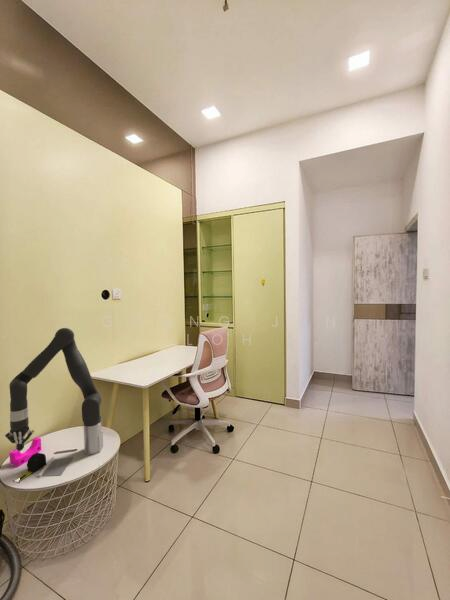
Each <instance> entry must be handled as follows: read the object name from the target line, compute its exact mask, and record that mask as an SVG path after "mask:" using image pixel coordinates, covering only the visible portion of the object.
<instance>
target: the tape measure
mask: <svg viewBox="0 0 450 600" xmlns="http://www.w3.org/2000/svg"><path fill="white" fill-rule="evenodd" d="M46 465H47V457H46V454H45V453H40V452H38V453H35V454H33V455H32V456H31V457H30V458H29V460H28V462H26V467H27V470H26V472H24V473H23V474H22V475H20V476H19V477H17V478H16V479H18V478H20V481H19V482H21V481H22V480H23V479H24V480H25V478H26V477H29V475H31V474H33V475H34V474H35V473H37V472H38V471H40V470H41V469H43V468H44V467H45V466H46ZM22 478H23V479H22ZM14 480H15V479H14ZM14 480H12V482H14Z"/></svg>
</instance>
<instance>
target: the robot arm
mask: <svg viewBox="0 0 450 600" xmlns="http://www.w3.org/2000/svg"><path fill="white" fill-rule="evenodd" d="M74 333H75V332H74V331H73V330H72V329H70V328H69V327H61V328H60V329H58V330H57V331H55V333H54V336H53V339H51V341H50V342H49V343H48V344H47V346H46V347H45V348H44V350H42V351H41V352H40V353H39V354H37V356H35V357H34V358H33V359H32V360H31V361H30V363H29V364H28V365H27V366H26V367H25V368H24V369H23V370H21V372H20V373H18V374H17V375H16V376H15V377H14V378H12V380H10V382H9V387H8V388H9V393H10V403H9V406H10V407H9V410H10V411H9V428H10V430H9V431H8V432H7V433H6V434H5V435H4V436H5V438H7V440H8V441H9V442H10V443H11V444H15V447H16V449H15V450H18V451H20V452H22V451H23V449H24V448H25V443H26V442H27V441H28V440H29V439H30V438H31V436H32V435H33V434H34V433H35V430H30V426H29V409H28V398H27V397H28V384H29V383H30V382H31V381H32V380H33V379H35V378H36V377H38V375H40V373H41V372H42V371H44V369H45V368H46V367H47V366H48V365H49V363H50V362H51V361H52V360H54V357H55V356H56V355H57V354H59V353H60V352H61V351H62V353H63V356H64V360H65V363H66V366H67V370H68V373H69V375H70V377H71V379H72V381H73V382H74V383H75V385H76V386H78V387H79V389H80V390H81V392H82V393H81V394H82V396H83V402H82V403H81V418H82V419H81V420H82V422H83V442H84V443H83V444H84V445H83V447H84V450H83V451H84V454H85V455H88V456H91V455H95V454H99V453H101V452H102V450H103V448H104V433H103V431H102V416H101V413H100V409H101V408H100V406H101V404H102V397H101V395H100V393H99V391H98V389H97V388H96V386H95V384H94V380H93V378H92V376H91V373H90V370H89V368H88V365H87V363H86V361H85V359H84V357H83V356H82V354H81V352H80V350H79V348H78V347H77V344H76V343H77V342H76V341H75V334H74Z"/></svg>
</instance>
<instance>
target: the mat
mask: <svg viewBox="0 0 450 600" xmlns="http://www.w3.org/2000/svg"><path fill="white" fill-rule="evenodd" d="M72 459H73V456H72V457H64V458H62V457H61V458H55V456H52V457H50V459H49V460H48V462H46V466H44V467H43V468H42V470H41V471H40V472H39V473H38V475H37V476H38V478H41V477H42V478H44V477H45V478H46V477H54V476H55V477H58V476H62V475H63V474H64V472H65V470H66V469H67V467H68V466H69V464H70V463H71V461H72Z"/></svg>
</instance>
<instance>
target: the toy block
mask: <svg viewBox="0 0 450 600" xmlns="http://www.w3.org/2000/svg"><path fill="white" fill-rule="evenodd" d="M41 451H42V438H41V437H34V438H32V441H31V444H30V446H29V447H28V449H26V450H25V451H24V452H22V453H21V451H18V450H17V449H13V450H12V451H10V452H9V464H10V463H11V464H13V465H16V466H15V467H18V466H20V467H22V466H23V465H25V464H27V462H28V460H29V458H30V457H31V456H32V455H33V454H35V453H40V452H41ZM13 465H12V466H13Z"/></svg>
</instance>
